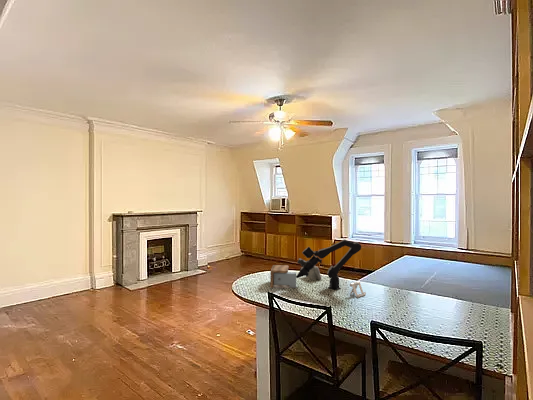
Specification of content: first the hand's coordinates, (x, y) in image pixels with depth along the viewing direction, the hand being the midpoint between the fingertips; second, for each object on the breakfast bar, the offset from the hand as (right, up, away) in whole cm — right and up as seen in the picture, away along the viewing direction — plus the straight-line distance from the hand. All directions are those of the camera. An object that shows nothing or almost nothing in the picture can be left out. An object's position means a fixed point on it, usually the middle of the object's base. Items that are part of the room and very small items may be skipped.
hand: (296, 277), depth 231 cm
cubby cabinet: (-11, -7, +6) cm, 14 cm away
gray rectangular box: (-8, -7, +1) cm, 11 cm away
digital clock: (+16, -7, +25) cm, 30 cm away
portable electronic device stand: (+39, -7, -19) cm, 44 cm away
